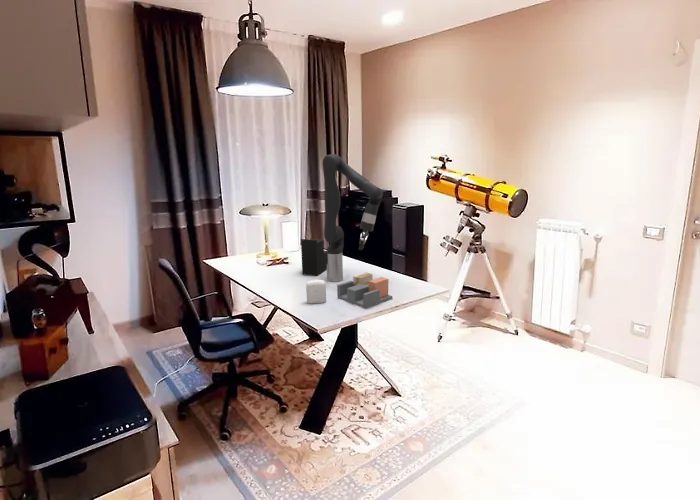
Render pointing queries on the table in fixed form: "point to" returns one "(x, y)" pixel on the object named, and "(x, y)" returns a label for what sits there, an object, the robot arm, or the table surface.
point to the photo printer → (316, 291)
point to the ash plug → (362, 279)
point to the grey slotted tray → (360, 295)
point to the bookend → (313, 257)
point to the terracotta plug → (379, 285)
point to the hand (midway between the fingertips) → (360, 249)
